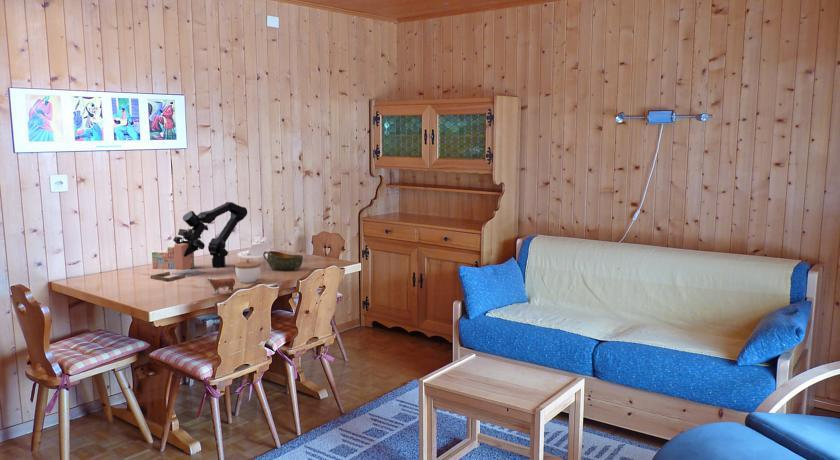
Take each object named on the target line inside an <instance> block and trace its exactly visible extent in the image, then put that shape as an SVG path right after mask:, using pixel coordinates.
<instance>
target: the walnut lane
mask: <svg viewBox="0 0 840 460" xmlns="http://www.w3.org/2000/svg"><path fill="white" fill-rule="evenodd" d="M170 275H171V272H170V271H167V272H161V273H156V274H152V275H150V279H152V280H158V281H163V282H170V281H175V280H180V279H184V277H185V278H186V276H185V274H183V275H175V276H170ZM165 276H166V277H165ZM167 276H170V277H167Z"/></svg>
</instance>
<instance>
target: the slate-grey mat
mask: <svg viewBox="0 0 840 460" xmlns="http://www.w3.org/2000/svg"><path fill="white" fill-rule="evenodd" d="M205 273H206V271H205V270H204V271H203V270H197V269H193V268H192V269H186V270H180V271H177V272H173V273H172V275H175V276H179V275H183V274H185V277H192V275H193V276H196V275H201V274H205Z"/></svg>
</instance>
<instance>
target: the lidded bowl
mask: <svg viewBox="0 0 840 460" xmlns="http://www.w3.org/2000/svg"><path fill="white" fill-rule="evenodd" d="M261 265H262V263H261V262H260V261H255V260H253V261H252V260H250V259H246V261H240V262H236V263H235V264H234V268H235V274H236V277H237V279H238V280H239V281H240V282H241V283H243V284H246V283H247V284H249V283H251V284H252V283H254V282H256V281H257V280H258V279H259V278H260V275H261V269H262V268H261Z"/></svg>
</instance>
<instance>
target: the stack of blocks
mask: <svg viewBox="0 0 840 460" xmlns="http://www.w3.org/2000/svg"><path fill="white" fill-rule="evenodd" d="M174 245H175V244H174ZM174 245H173V244H172V245H169V246H167V250H160V249H159V250H158V249H157V250H154V251H152V252H151V258H152V260H151V261H152V269H158V270H160V269H161V270H177V269H176V266H175V250H174ZM190 255H191V268H192V269H194V268H195V252H193V253H191V254H190ZM193 267H194V268H193ZM191 268H190V269H191ZM190 269H189V270H190Z"/></svg>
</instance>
